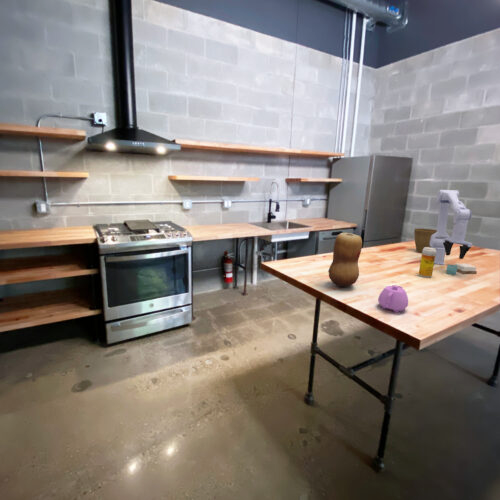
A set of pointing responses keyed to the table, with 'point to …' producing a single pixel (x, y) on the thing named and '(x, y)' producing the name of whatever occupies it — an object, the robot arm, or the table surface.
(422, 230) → the plant pot
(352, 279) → the butternut squash
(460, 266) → the off-white slab
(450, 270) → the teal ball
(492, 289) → the table surface
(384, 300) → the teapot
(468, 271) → the walnut slab
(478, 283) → the table surface
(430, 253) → the glass of beer
